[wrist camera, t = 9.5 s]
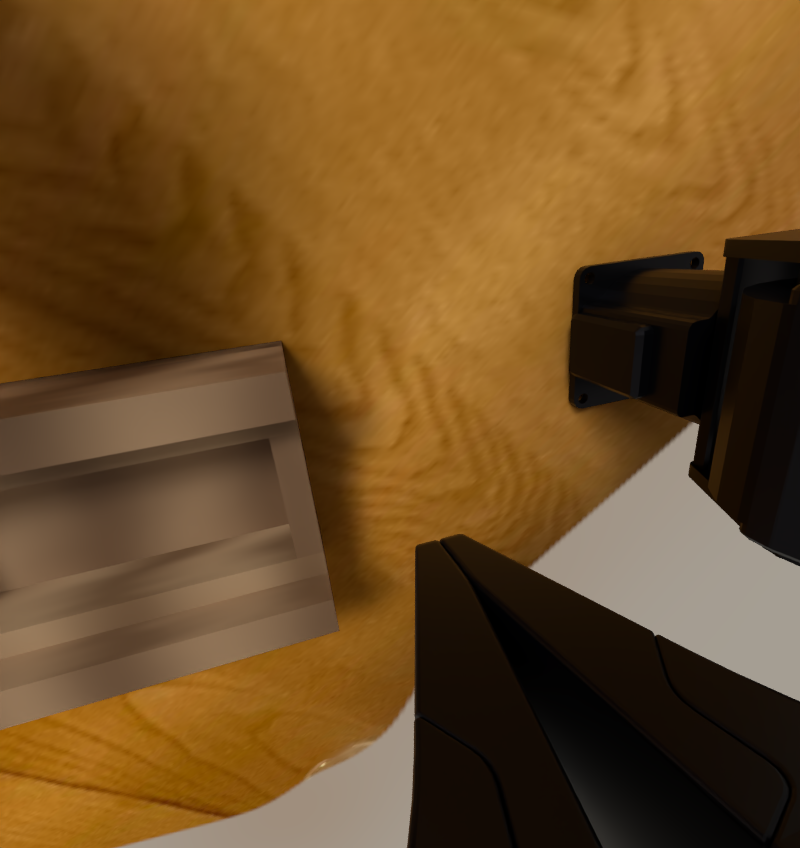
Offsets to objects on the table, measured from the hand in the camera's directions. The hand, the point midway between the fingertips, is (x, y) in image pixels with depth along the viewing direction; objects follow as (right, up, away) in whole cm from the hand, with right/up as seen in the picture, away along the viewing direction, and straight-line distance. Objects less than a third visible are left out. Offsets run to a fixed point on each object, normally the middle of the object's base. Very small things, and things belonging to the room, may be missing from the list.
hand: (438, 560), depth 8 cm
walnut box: (-11, 0, +10) cm, 15 cm away
